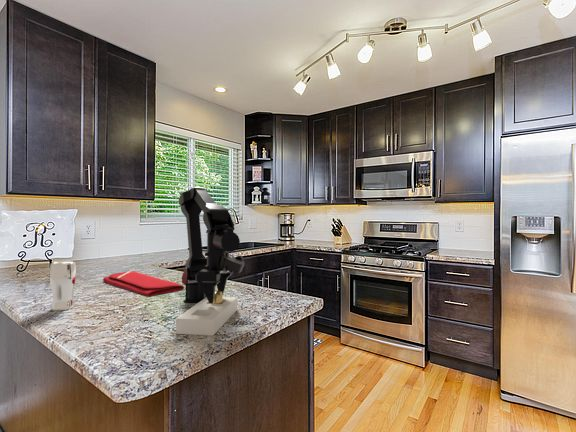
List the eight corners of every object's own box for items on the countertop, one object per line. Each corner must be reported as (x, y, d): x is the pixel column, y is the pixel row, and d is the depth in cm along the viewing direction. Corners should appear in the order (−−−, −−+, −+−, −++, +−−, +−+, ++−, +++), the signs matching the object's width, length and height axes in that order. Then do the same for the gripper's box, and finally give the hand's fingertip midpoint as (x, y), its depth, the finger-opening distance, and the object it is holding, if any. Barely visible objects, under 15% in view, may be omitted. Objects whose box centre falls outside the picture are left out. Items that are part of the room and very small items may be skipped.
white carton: (80, 306, 106) (80, 261, 106) (59, 312, 99) (59, 264, 99) (65, 304, 108) (66, 260, 108) (44, 310, 101) (44, 263, 101)
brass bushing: (208, 316, 96) (208, 293, 96) (212, 312, 100) (212, 290, 100) (220, 316, 96) (220, 293, 96) (223, 313, 99) (224, 290, 99)
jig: (175, 333, 82) (176, 318, 82) (207, 308, 104) (207, 296, 104) (213, 335, 81) (213, 320, 81) (237, 309, 103) (237, 297, 103)
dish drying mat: (147, 298, 118) (147, 288, 118) (101, 282, 144) (101, 274, 144) (184, 290, 131) (184, 281, 131) (136, 277, 156) (136, 270, 156)
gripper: (233, 252, 87) (232, 309, 88) (249, 246, 106) (249, 292, 106) (194, 252, 89) (194, 307, 89) (217, 245, 107) (217, 291, 107)
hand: (216, 298), depth 98 cm, fingers open, 9 cm apart
